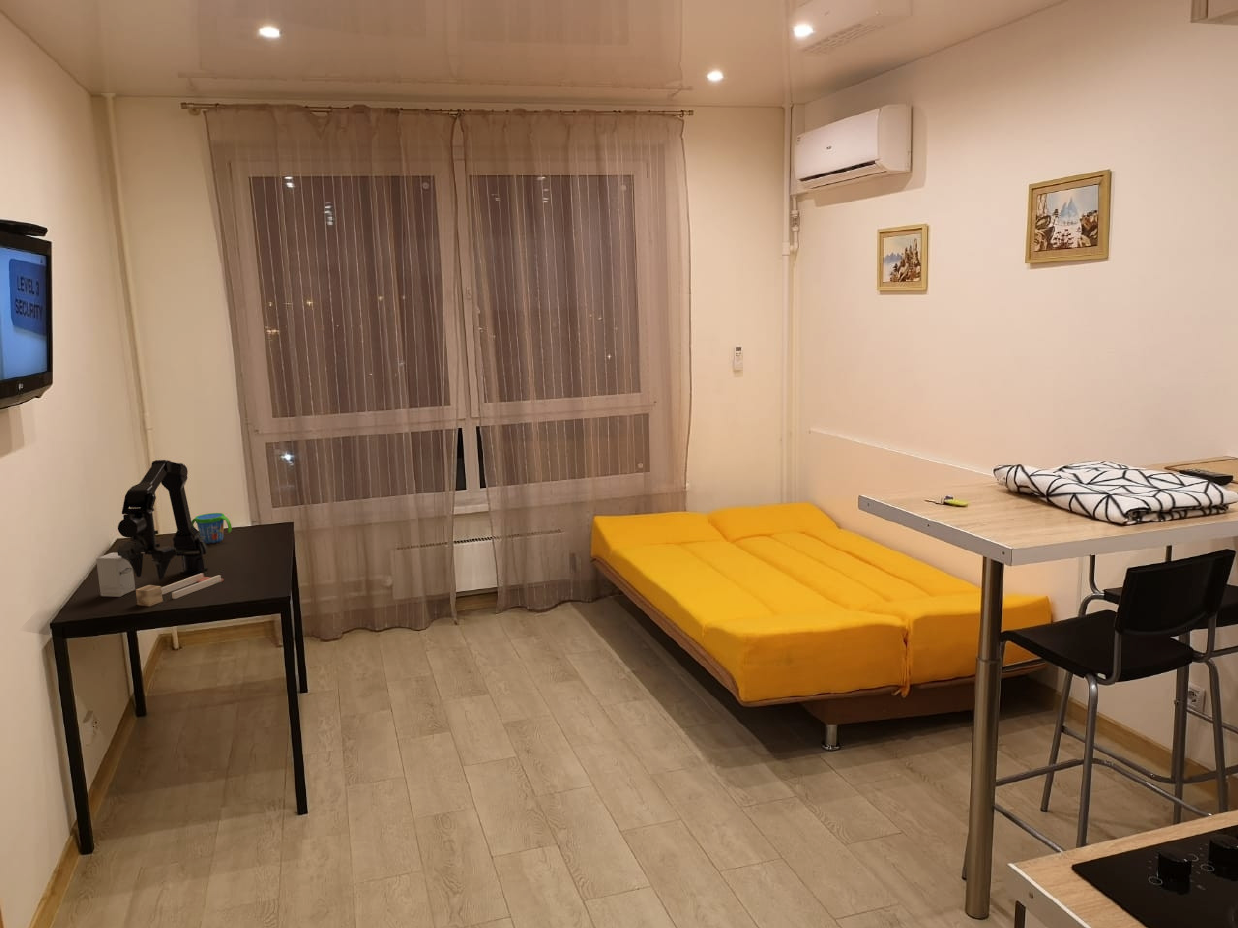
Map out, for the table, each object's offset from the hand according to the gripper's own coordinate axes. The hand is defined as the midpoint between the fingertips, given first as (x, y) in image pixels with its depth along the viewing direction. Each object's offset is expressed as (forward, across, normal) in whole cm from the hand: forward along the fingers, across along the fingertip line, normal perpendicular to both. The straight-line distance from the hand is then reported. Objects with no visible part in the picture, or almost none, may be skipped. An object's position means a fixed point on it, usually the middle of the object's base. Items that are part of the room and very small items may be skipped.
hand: (150, 578), depth 292 cm
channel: (+8, 0, +14) cm, 16 cm away
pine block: (+8, 0, -1) cm, 8 cm away
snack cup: (+8, -40, +63) cm, 75 cm away
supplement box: (+8, -19, +3) cm, 21 cm away
